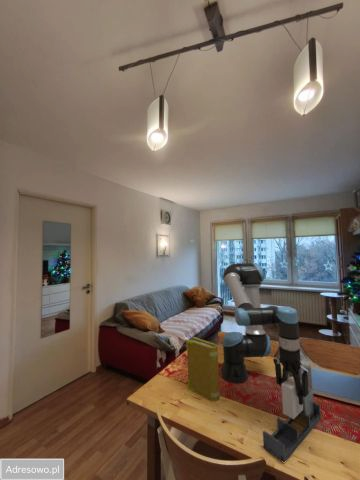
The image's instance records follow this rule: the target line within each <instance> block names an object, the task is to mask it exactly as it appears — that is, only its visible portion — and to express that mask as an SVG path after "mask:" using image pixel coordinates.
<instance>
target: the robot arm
mask: <svg viewBox="0 0 360 480" xmlns="http://www.w3.org/2000/svg"><path fill="white" fill-rule="evenodd" d="M264 278H265V274H264V269H263V268H262V266H261V264H259V263H256V262H244V263H243V262H242V263H232V264H230V265H228V266H227V267H226V268H225V270H224V271H223V274H222V279H223V283H224V285H226V286H227V288H228V290H229V293H230V295H231V299H232V301H233V303H234V305H235V309H234V319H235V323H236V325H238V326H240V327H241V326H242V327H244V326H245V327H247V328H246V330H244V331H245V333H244V334H243V333H242V332H240V331H231V332H228V333H225V334H224V335H223V337H222V346H223V347H222V351H223V362H222V365H221V369H220V375H221V377H222V378H223V379H224V380H225V381H226V382H229V383H232V384H233V383H234V384H241V383H245V382H246V381H247V380H248V379H249V373H248V372H249V371H248V370H247V367H246V363H245V358H265V357H266V358H267V357H269V355H270V354H271V351H272V342H271V338H270V336H269V335H268V334H267V332H266V331H265V330H264V327H263V326H276V327H277V331H278V335H277V336H278V345H279V348H278V350H279V351H278V352H279V357H275V358H273V359H272V360H273V364H274V370H275V379H276V380H275V381H276V384H277V385H279V386H280V388H281V389H282V386H281V384H282V383H283V382H285V381H286V380H287V379H289V375H288V373H289V372H291V373H292V376H293V378H294V382H295V386H296V390H297V394H296V408H297V413H298V414H299V413H300V412H301V411H302V404H303V403H304V400H303V397H306V396H307V395H308V394H309V392H308V374H309V369H305V368H304V367H303V366H302V364H301V362H300V351H301V349H300V348H301V347H300V346H301V345H300V332H299V329H300V328H299V317H298V312H297V309H296V308H294V307H288V306H280V307H279V306H276V305H273V304H272V305H268V306H266V307H261V298H260V296H261V295H260V287H261V285H262V282H264V281H265V279H264ZM300 369H301V373H302V384H301V380H300V376H299V370H300Z"/></svg>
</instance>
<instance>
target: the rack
mask: <svg viewBox="0 0 360 480" xmlns="http://www.w3.org/2000/svg"><path fill="white" fill-rule="evenodd" d="M308 392H309V394H308V395H307V396H306V397H303V400H304V403H303V410H302V411H301V412H300V413H299V414H298V415H297V416H296V417H295V418H294V419H292V418H290V417H289V416H288V418H286V420H283V419H282V418H280V417H277V418H276V421H277V422H276V423H277V428H276V430H274V432H273V433H272V434H270V433H268V432H267V431H266V430H263V431H262V439H263V441H262V442H263V448H264V449H265V450H266V451H267V452H269V453H270V454H271V455H273V457H275V456H276V457H277V459H278V460H279V459H280V460H281V461H280V460H279V461H280V462H282V461H283V462H285V461H286V460H287V459H288V460H289V458H290V457H292V456H293V454H294V453H295V451H296V450H297V449H298V447H299V446H300V445H301V443H302V442H304V441H305V439H306V438H307V436H308V435H309V434H311V431H312V430H313V429H314V428H315V426H317V424H318V423H319V421H320V420H321V419H322V417H321V416H322V415H321V405H320V404H319V403H317V402H315V400H314V389H313V388H312V389H310V388H308ZM276 457H275V458H276ZM288 460H287V461H288ZM287 461H286V462H287ZM283 462H282V463H283ZM286 462H285V463H286Z"/></svg>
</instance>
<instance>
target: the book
mask: <svg viewBox="0 0 360 480" xmlns="http://www.w3.org/2000/svg"><path fill="white" fill-rule="evenodd" d="M185 344H186V351H187V353H186V354H187V355H186V357H187V358H186V359H187V390H189V391H190V392H192V393H195V394H197V395H199V396H201V397H202V398H204V399H206V400H208V401H210V402H217V401H219V400H220V376H219V375H220V373H219V372H220V371H219V369H220V368H219V352H218V351H219V348H218V344H216V343H214V342H211V341H208V340H204V339H201V338H199V337H196V336H193V337H191V339H187V340H186V343H185Z"/></svg>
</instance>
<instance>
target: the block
mask: <svg viewBox="0 0 360 480" xmlns="http://www.w3.org/2000/svg"><path fill="white" fill-rule="evenodd" d="M281 386H282V388H281V400H282V401H281V402H282V414H284V415H285V416H287V417H288V418H289V417H290V418H292V419H294V418H295V417H296V416H297V415H298V413H297V408H296V394H297V390H296V386H295V382H294V378H293V377H288V379H287V380H286V381H285V382H283V383H282V384H281ZM281 386H280V387H281ZM302 410H303V404H302Z"/></svg>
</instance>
